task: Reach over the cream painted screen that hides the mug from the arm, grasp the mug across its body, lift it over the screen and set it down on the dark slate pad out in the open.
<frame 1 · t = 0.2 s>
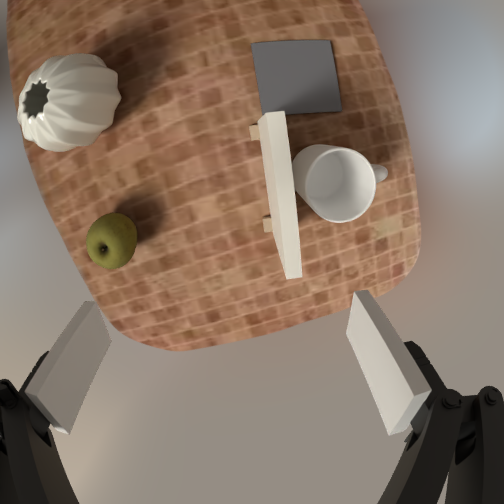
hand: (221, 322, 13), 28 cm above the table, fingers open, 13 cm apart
pad: (297, 76, 32), on the table
vase: (90, 103, 32), on the table
apple: (122, 230, 40), on the table
mug: (329, 170, 37), on the table
screen: (271, 177, 37), on the table
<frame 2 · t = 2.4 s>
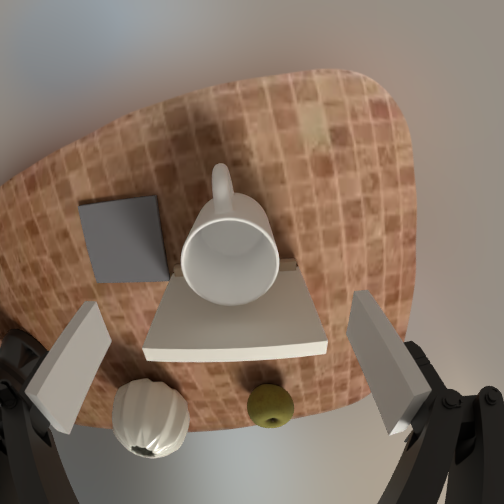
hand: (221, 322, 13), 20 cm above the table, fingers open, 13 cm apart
pad: (123, 242, 33), on the table
vase: (155, 392, 45), on the table
apple: (268, 388, 45), on the table
mug: (230, 209, 32), on the table
screen: (235, 275, 35), on the table
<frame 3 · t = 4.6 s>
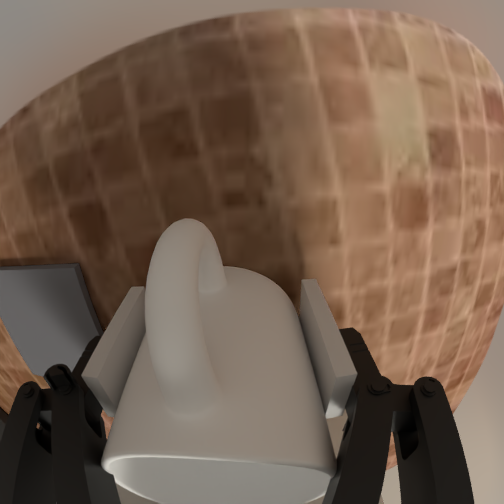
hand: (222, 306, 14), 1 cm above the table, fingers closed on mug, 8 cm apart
pad: (48, 330, 16), on the table
mug: (221, 295, 15), on the table, touching gripper
screen: (235, 391, 19), on the table
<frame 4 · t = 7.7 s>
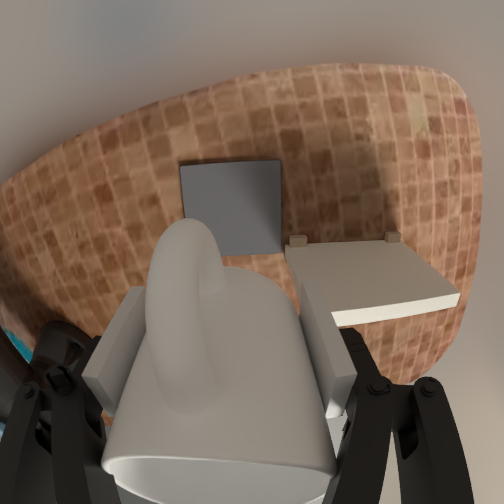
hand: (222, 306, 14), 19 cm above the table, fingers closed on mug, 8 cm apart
pad: (232, 209, 32), on the table
mug: (221, 295, 15), point 18 cm above the table, touching gripper
screen: (346, 247, 34), on the table
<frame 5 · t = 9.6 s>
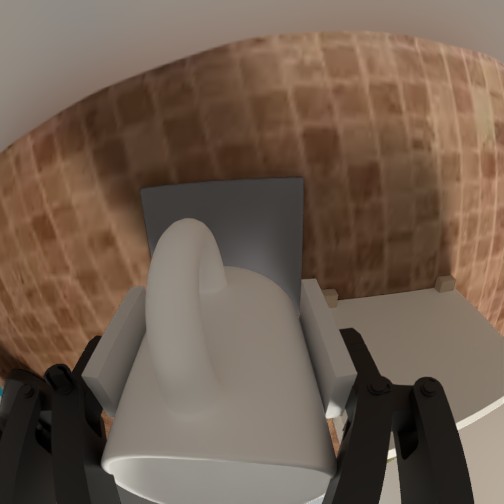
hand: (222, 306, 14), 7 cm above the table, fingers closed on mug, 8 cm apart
pad: (225, 255, 20), on the table
mug: (221, 295, 15), point 5 cm above the table, touching gripper
screen: (387, 301, 23), on the table
when the fingers open (3 cm above the table, at t = 10.9 s): mug drops 2 cm, resting on pad.
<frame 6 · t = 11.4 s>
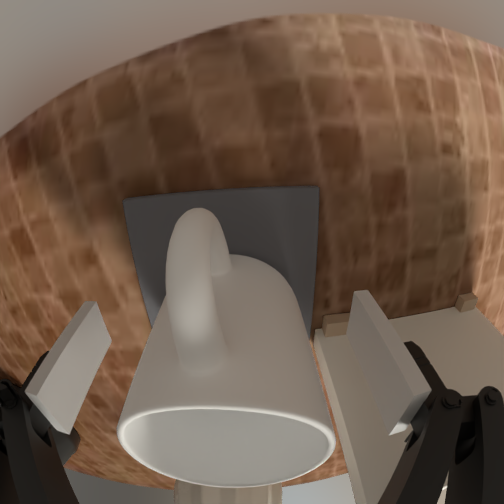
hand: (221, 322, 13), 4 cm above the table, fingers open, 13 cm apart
pad: (225, 277, 17), on the table
vase: (227, 463, 30), on the table
mug: (226, 282, 17), resting on pad
screen: (405, 323, 20), on the table
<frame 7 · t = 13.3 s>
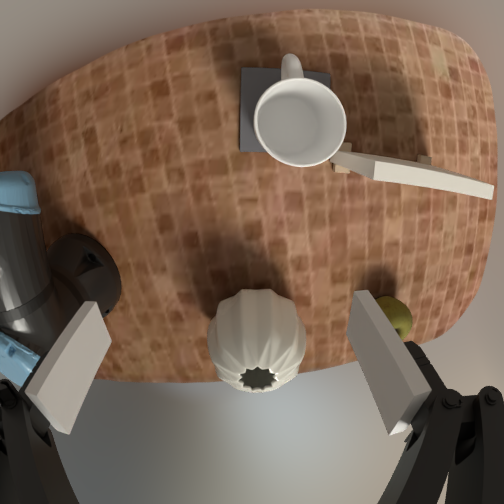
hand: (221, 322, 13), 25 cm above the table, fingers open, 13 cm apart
pad: (285, 110, 31), on the table
vase: (255, 314, 43), on the table
apple: (379, 306, 43), on the table
mug: (286, 110, 31), resting on pad
screen: (384, 162, 33), on the table
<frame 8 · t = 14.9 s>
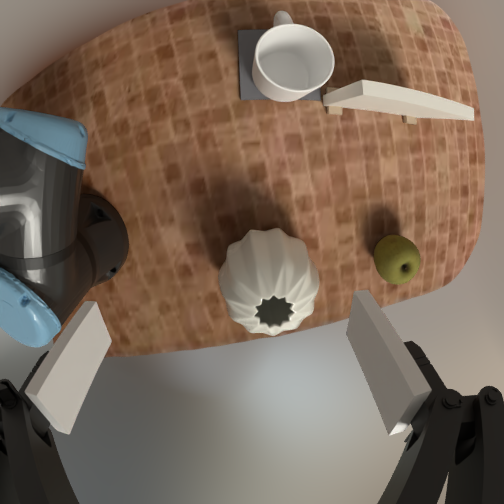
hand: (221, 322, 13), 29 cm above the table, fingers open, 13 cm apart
pad: (279, 63, 32), on the table
vase: (264, 261, 44), on the table
apple: (385, 248, 44), on the table
mug: (280, 63, 31), resting on pad
screen: (373, 105, 34), on the table
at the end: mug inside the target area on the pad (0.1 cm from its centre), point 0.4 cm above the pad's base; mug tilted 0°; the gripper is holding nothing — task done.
